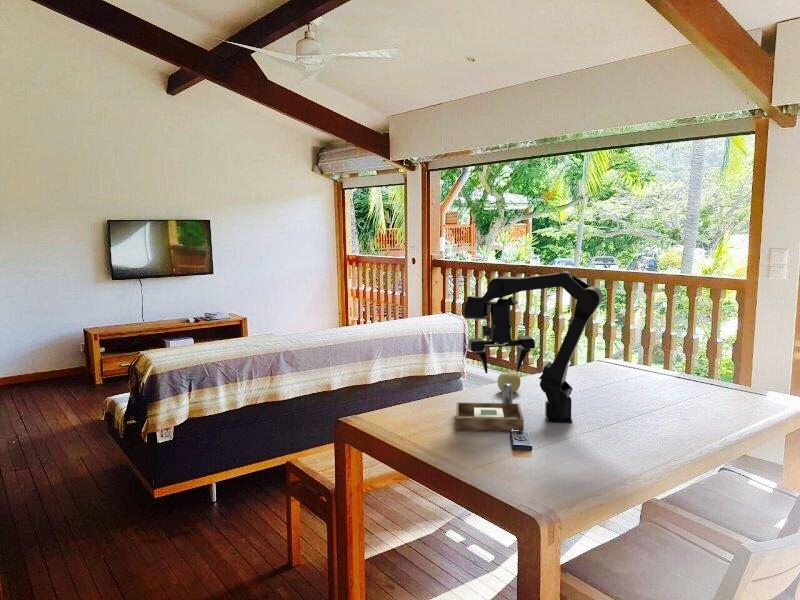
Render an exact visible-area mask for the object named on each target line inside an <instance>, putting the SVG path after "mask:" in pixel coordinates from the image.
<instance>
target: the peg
mask: <svg viewBox="0 0 800 600" xmlns="http://www.w3.org/2000/svg"><path fill="white" fill-rule="evenodd" d="M501 393H502V394H501V395H502V396H501V397H502V399H501V401H502V402H501V403H513V398H514V397H513V396H514V395H513V394H514V392H513V384H511V383H503V384H502V391H501Z"/></svg>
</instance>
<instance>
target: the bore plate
mask: <svg viewBox="0 0 800 600" xmlns="http://www.w3.org/2000/svg"><path fill="white" fill-rule="evenodd" d="M474 418H504V415H503V410H502V408H474Z"/></svg>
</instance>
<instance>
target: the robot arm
mask: <svg viewBox="0 0 800 600" xmlns="http://www.w3.org/2000/svg"><path fill="white" fill-rule="evenodd" d="M559 287H561V288H562V289H564V290H565V292H567V293H568V294H569V295H570V296H571V297H572V298H573V299H575V301H576V303H575V307H574V312H573V318H572V321H571V323H570V325H569V327H568V329H567V331H566V334H565V336H564V338H563V341H562V343H561V345H560V347H559V350H558V352H557V354H556V356H555V358H554V361H553V363H552V362H551V361H548V362H547V363H546V364H545V365H544V366H543V370H542V374H541V375H540V377H538V380H540V382H539V387H540V389H541V391H542V392H543V393H544V394H545V396H546V399H547V400H546V401H545V405H544V407H545V408H544V416H545V418H546V419H547V421H548V422H549V423H573V419H572V404H573V403H572V402H573V401H572V398H571V394H572V391H573V387H572V386H571V385H570V384H569V383H568V382H567V380H566V379H567V374H568V369H569V363H570V361H571V359H572V358H573V355H574V353H575V350H576V348H577V346H578V344H579V341H580V339H581V337H582V335H583V332H584V330H585V328H586V326H587V325H588V322H589V320H590V319H591V318H592V316H593V315H594V314H595V312H596V311H597V309H598V307H600V305H601V304H602V302H603V299H604V295H603V293H602V290H601V289H600V288H598V287H597V286H590V285H589V284H587V283H586V282H585V281H583V280H581V279H580V278H578V277H577V276H575V275H573V274H572V273H571V272H570V271H563V272H556V273H549V274H548V273H547V274H541V275H533V276H526V277H517V276H506V275H505V276H503V275H500V276H499V277H495V278H493V279H491V280H490V281H489V282H488V286H487V290H486V292H485V293H484V295H483V296H474V295H468V296H467V297H466V301H465V304H464V310H463V311H464V317H465V319H466V320H467V319H468V320H487V319H488V317H490V326H489V325H482V326H481V335H482V337H483V338H485V337H488V340H484V339H483V338H482V337H481V338H480V337H476V338H475V337H474V338H470V339H469V340H468V342H467V343H468V344H467V346H468V347H467V348H468V349H469V350H470V352H474V354H475V355H478V356H479V357H478V358H479V359H480V362H481V364H482V367H483V370H484V373H485V374H488V361H487V352H486V351H485V349H486V348H500V347H501V348H503V347H516V358H515V360H516V361H515V369H516V370H515V371H516V373H518V372H519V371H520V368H521V366H522V363H523V361H524V359H525V357H526V356H527V354H528V353H530V352H531V350H532V349H536V341H535V339H534V338H532V337H531V336H530V335H521V336H517V338H516V339H512V322H511V321H512V315H511V313H512V312H511V306H516V305H517V304H518V303H519V302H518V301H517V300H516V299H515V298H514V297H513V296H511V295H513V294H514V295H515V294H516V293H520V292H526V291H535V290H542V289H550V288H552V289H553V288H559ZM506 296H509V297H508V298H503V297H506ZM495 299H497V300H496V301H493V300H495Z"/></svg>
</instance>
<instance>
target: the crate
mask: <svg viewBox="0 0 800 600" xmlns="http://www.w3.org/2000/svg"><path fill="white" fill-rule="evenodd" d="M474 408H502V410H503V415H504V418H474ZM455 420H456V421H455V423H456V424H455V426H456V427H455V430H456V431H455V432H458V431H459V432H493V433H494V432H495V433H496V432H502V433H511V432H510V431H511V430H512V429H513V430H519V431H524V432H525V430H524V424H525V423H524V421H525V418H524V415H523V413H522V409H521V406H520V403H516V402H514V403H502V402H460V401H459V402H456V414H455Z"/></svg>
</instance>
